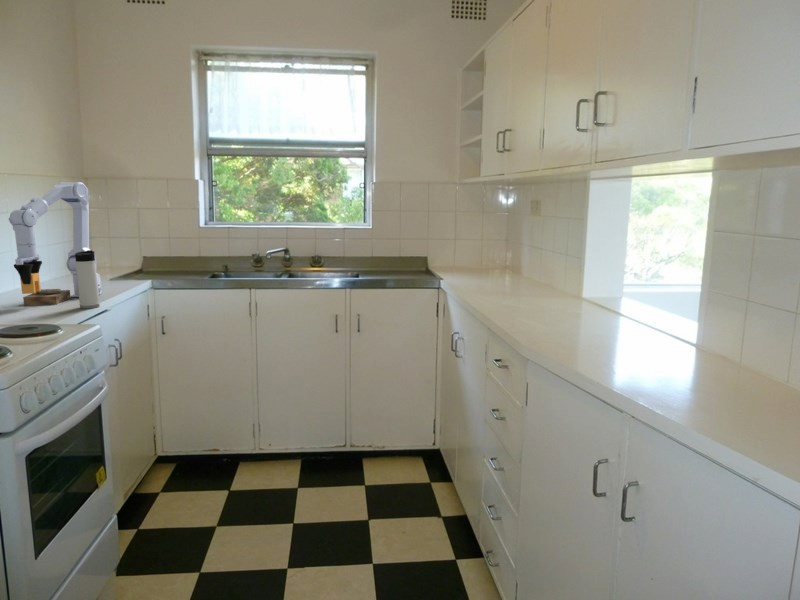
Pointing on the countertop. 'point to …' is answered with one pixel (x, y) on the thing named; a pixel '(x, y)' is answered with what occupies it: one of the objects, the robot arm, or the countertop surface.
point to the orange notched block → (31, 284)
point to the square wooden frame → (47, 297)
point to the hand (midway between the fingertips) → (30, 282)
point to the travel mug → (87, 279)
